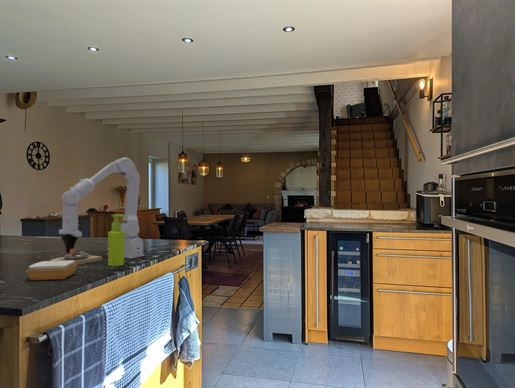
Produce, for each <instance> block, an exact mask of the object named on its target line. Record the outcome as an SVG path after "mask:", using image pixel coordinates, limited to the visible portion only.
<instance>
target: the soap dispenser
mask: <svg viewBox="0 0 515 388" xmlns="http://www.w3.org/2000/svg"><path fill="white" fill-rule="evenodd" d="M111 217H113V222H111V231H108V233H107V235H108V236H107V237H108V238H107V239H108V240H107V242H108V244H107V245H108V246H107V249H108V250H107V252H108V253H107V255H108V256H107V257H108V258H107V264H108V267H109V266H110V267H119V266H123V265H125V258H124V231H121V224H122V222H120V221H119V220H120V219H119V217H122V218H123V217H126V215H125V214H121V213H120V214H111Z"/></svg>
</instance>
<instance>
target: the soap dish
mask: <svg viewBox="0 0 515 388" xmlns="http://www.w3.org/2000/svg"><path fill="white" fill-rule="evenodd" d="M74 262H75V261H50V260H44V261H39V262H36V263H33V264H31V265H29V266H28V269H26V270H25V274H26V275H27V276H28V278H29V280H30V281H46V280H60V281H61V280H64V279H67V278H69V277H70V276H72V275H74V274H75V271H76V269H77V267H78V265H79V264H74Z"/></svg>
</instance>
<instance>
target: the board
mask: <svg viewBox="0 0 515 388" xmlns="http://www.w3.org/2000/svg"><path fill="white" fill-rule="evenodd" d="M49 261H75V262H74V264H78V265H82V264H87V263H92V262H93V263H94V262H96V261H97V262H98V261H103V256H100V255H92V254H91V255H90V254H89V257H87V258H83V259H65V258H64V256H63V257H62V256H61V257H57V258H51V259H50V260H49Z"/></svg>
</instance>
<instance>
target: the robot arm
mask: <svg viewBox="0 0 515 388" xmlns="http://www.w3.org/2000/svg"><path fill="white" fill-rule="evenodd" d="M114 173H118V174H120V175H122V176H123V177H124V178H125V179H126V180H127V185H126V197H125V205H124V206H125V208H124V215H126V217H122V222H121V231H124V259H135V258H141V257H144V256H146V255H145V254H144V241H143V239H142V238H141V237H139V233H140V226H139V219H138V216H137V214H138V213H137V212H138V203H139V202H138V201H139V194H140V192H139V191H140V181H141V176H140V174H139V171H138V170H137V168H136V164H135V162H134V161H133V160H131V159H130V158H128V157H126V156H125V157H121V158H117V159H115V161H112V162H110V163H108V164H107V165H105V166H104V167H103V168H102V169H101V170H98V172H96V173H95V174H94V175H92V177H90V178H81V179H79V180H78V182H77V184H75V185H74V186H70V187H69V190H67V191H64V193H63V194H62V195H61V201H62V211H61V212H62V218H61V219H62V221H61V222H62V225H61V227H62V228H61V229H59V230H58V235H63V236H61V240H62V241H63V243H64V246H65V253H66V254H70V249H71V248H75V244H76V242H77V240H78V239H79V238H82V234H83V232H82V231H80V230H79V206H78V205H79V202H80V200H81V199H83V198H84V197H86V196H88V194H90V193H91V192H92V191H93V190H95V187H96V185H97V184H98V183H100V182H101V181H102V180H104V179H105V178H106V177H108V176H109V175H111V174H114Z"/></svg>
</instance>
